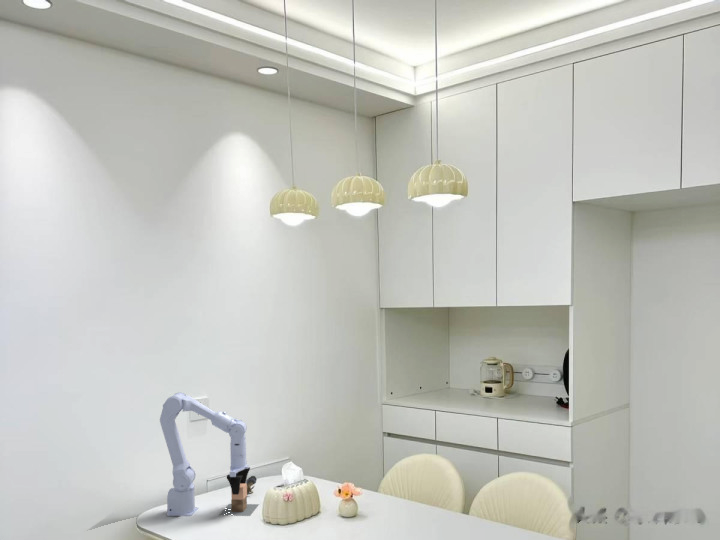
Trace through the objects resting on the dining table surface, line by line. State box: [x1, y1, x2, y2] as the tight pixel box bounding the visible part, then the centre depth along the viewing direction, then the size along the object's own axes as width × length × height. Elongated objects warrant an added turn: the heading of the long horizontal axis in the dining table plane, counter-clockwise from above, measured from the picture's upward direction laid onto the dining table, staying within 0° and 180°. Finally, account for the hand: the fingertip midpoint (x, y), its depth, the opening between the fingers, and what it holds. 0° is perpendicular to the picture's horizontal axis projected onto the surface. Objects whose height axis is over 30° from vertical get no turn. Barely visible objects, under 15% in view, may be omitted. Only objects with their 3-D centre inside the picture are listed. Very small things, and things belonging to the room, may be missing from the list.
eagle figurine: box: [246, 475, 257, 496], centre depth 246 cm, size 8×7×9 cm
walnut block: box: [230, 495, 248, 512], centre depth 227 cm, size 4×4×4 cm
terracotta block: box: [231, 483, 248, 500], centre depth 227 cm, size 4×4×4 cm
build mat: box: [218, 503, 260, 517], centre depth 227 cm, size 12×12×1 cm
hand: (238, 490), depth 227 cm, fingers open, 7 cm apart
